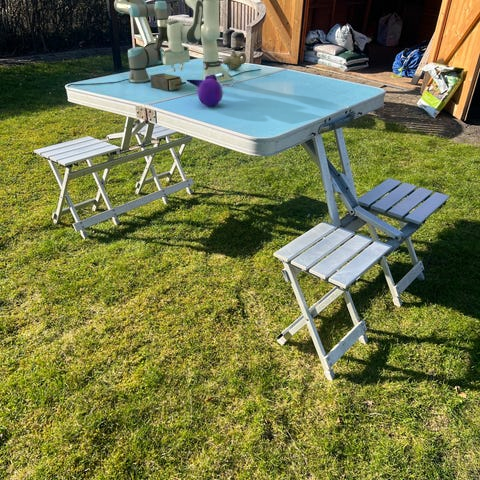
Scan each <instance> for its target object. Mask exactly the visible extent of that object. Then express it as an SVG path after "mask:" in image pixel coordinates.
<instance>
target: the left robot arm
mask: <svg viewBox="0 0 480 480" xmlns="http://www.w3.org/2000/svg"><path fill="white" fill-rule="evenodd" d="M113 6H114V9H115V11H116V12H117V13H120V14H127V15H129V16H130V18H133V19H134V21H135V25H136V27H137V30H138V33H139V36H140V38H141V41H142V44H143V46H136V47H131V48H129V49H127V57H128V66H129V76H128V78H125V79H122V80H117V81H107V82H97V83H95V82H94V83H69V84H70V85H69V84H68V85H67V87H68V88H69V87H70V86H89V85H93V86H94V85H106V84H115V83H116V84H117V83H121V82H125V81H128V82H129V83H133V84H141V83H148V82H150V81H151V79H150V76H149V74H148V71H147V67H146V66H153V65H160V64H163V51H164V49H163V47H162V45H163V43H164V42H166V43H167V44H168V42H169V40H168V36H167V25H168V23H169V15H168V4H167V1H165V0H156V1H155V3H150V4H147V1H146V0H114V3H113ZM149 17H151V18H152V17H156V25H157V32H158V34H156V35H155V38H154V36H153V33H152V30H151V28H150V25H149V21H148V20H147V19H148V18H149ZM72 131H73V135H74V137H76V132H75V129H73V130H72Z"/></svg>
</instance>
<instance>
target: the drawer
mask: <svg viewBox="0 0 480 480" xmlns="http://www.w3.org/2000/svg"><path fill="white" fill-rule="evenodd" d="M168 81H169V89H170V90H173V91H175V90H174V89H178V90H180V89H179V88H181V89H183V86H184V85H187V81H183V79H182V78H181V77H180V79H173V80H168Z"/></svg>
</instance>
